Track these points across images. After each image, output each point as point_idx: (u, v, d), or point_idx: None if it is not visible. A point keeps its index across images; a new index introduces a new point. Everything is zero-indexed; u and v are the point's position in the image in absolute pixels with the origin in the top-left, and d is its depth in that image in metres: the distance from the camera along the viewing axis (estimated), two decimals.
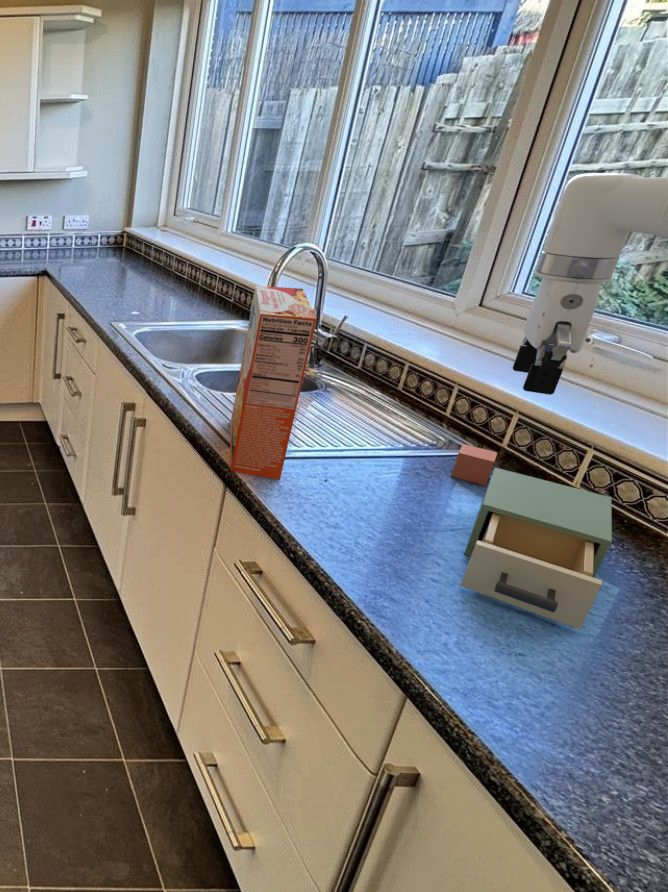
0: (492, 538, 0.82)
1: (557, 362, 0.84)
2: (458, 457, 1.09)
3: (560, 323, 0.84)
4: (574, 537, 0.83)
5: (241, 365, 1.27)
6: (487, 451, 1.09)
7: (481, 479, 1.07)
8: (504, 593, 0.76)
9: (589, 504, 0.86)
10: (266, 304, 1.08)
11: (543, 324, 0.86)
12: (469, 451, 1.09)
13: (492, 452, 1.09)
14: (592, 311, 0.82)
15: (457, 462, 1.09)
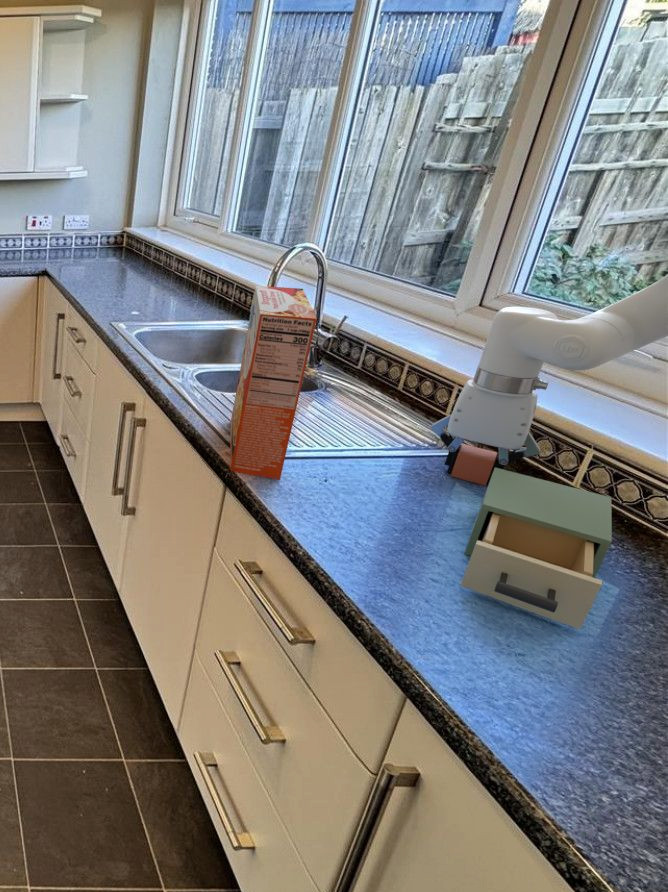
0: (492, 538, 0.82)
1: None
2: (458, 457, 1.09)
3: None
4: (574, 537, 0.83)
5: (241, 365, 1.27)
6: (487, 451, 1.09)
7: (481, 479, 1.07)
8: (504, 593, 0.76)
9: (589, 504, 0.86)
10: (266, 304, 1.08)
11: (525, 432, 1.02)
12: (469, 451, 1.09)
13: (492, 452, 1.09)
14: None
15: (457, 462, 1.09)
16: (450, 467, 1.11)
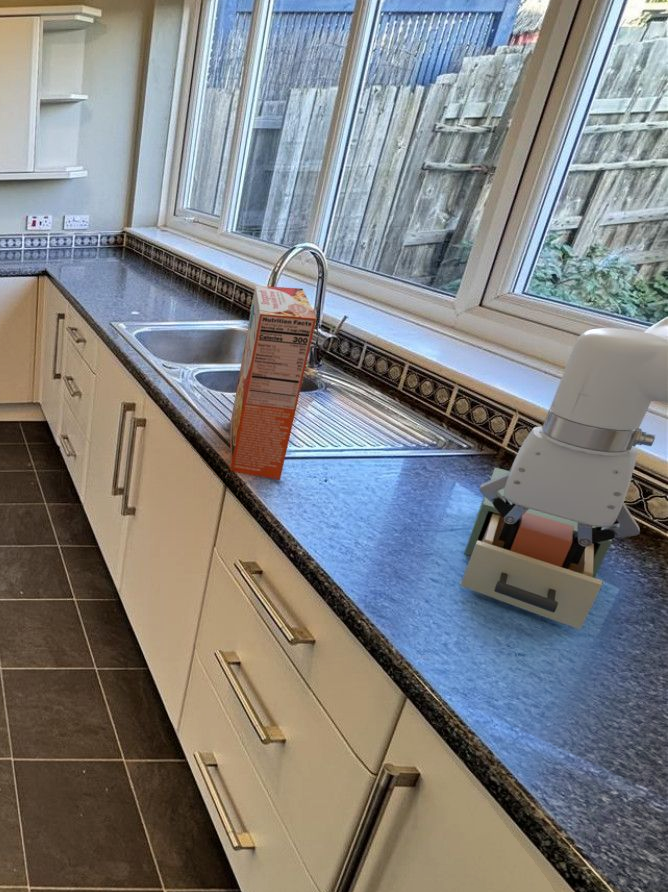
0: (492, 538, 0.81)
1: None
2: (519, 533, 0.80)
3: None
4: None
5: (241, 365, 1.27)
6: (558, 524, 0.80)
7: None
8: (504, 593, 0.76)
9: None
10: (266, 304, 1.08)
11: (620, 504, 0.73)
12: (534, 524, 0.80)
13: (566, 526, 0.79)
14: None
15: (518, 539, 0.80)
16: (507, 544, 0.81)
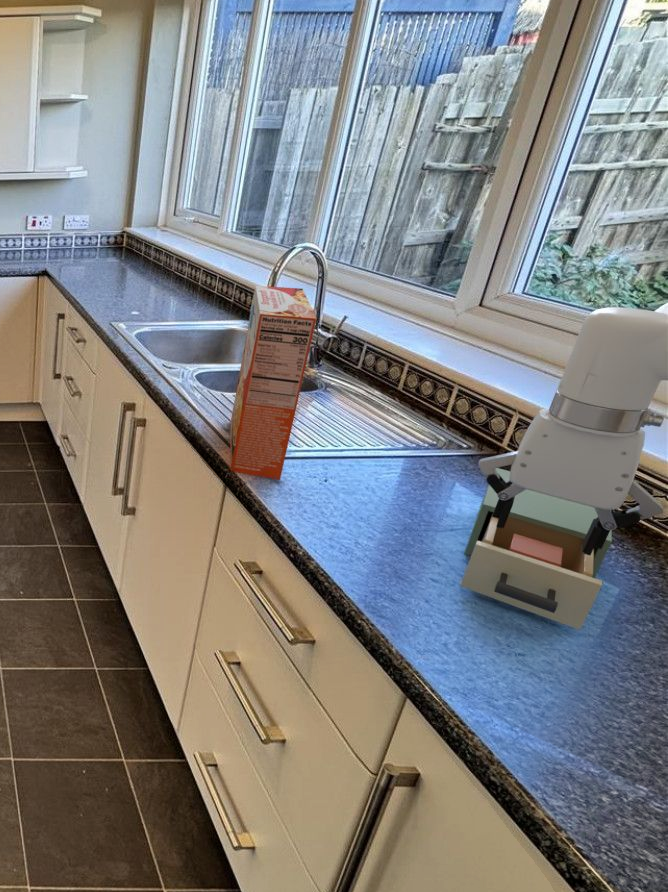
0: (492, 538, 0.81)
1: None
2: None
3: (632, 481, 0.72)
4: (574, 537, 0.83)
5: (241, 365, 1.27)
6: (548, 546, 0.81)
7: None
8: (504, 593, 0.76)
9: None
10: (266, 304, 1.08)
11: (628, 486, 0.72)
12: (524, 546, 0.81)
13: (556, 548, 0.80)
14: None
15: None
16: (501, 521, 0.81)
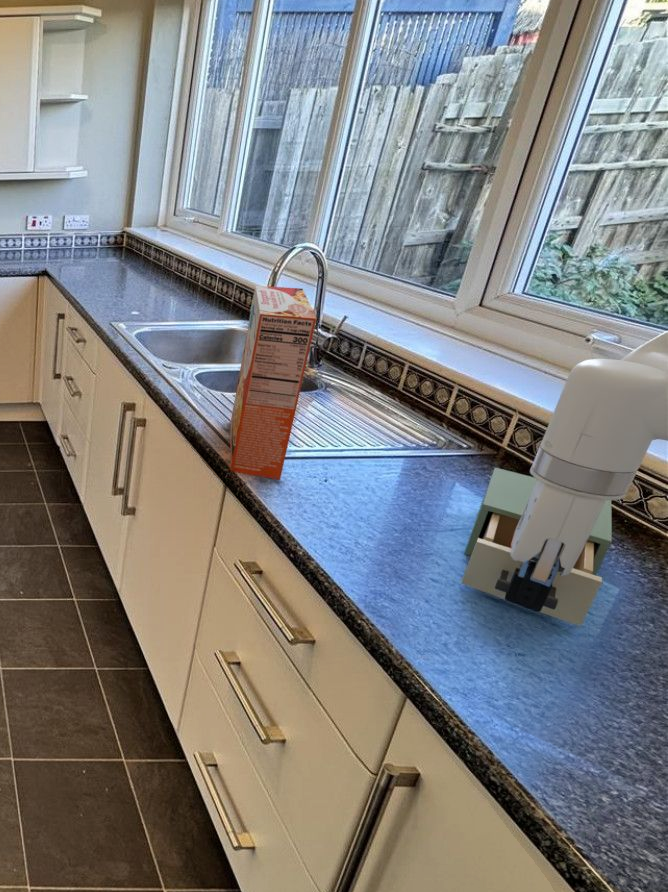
0: (493, 536, 0.82)
1: None
2: None
3: None
4: None
5: (241, 365, 1.27)
6: None
7: None
8: (505, 590, 0.77)
9: None
10: (266, 304, 1.08)
11: None
12: None
13: None
14: None
15: None
16: (543, 604, 0.73)
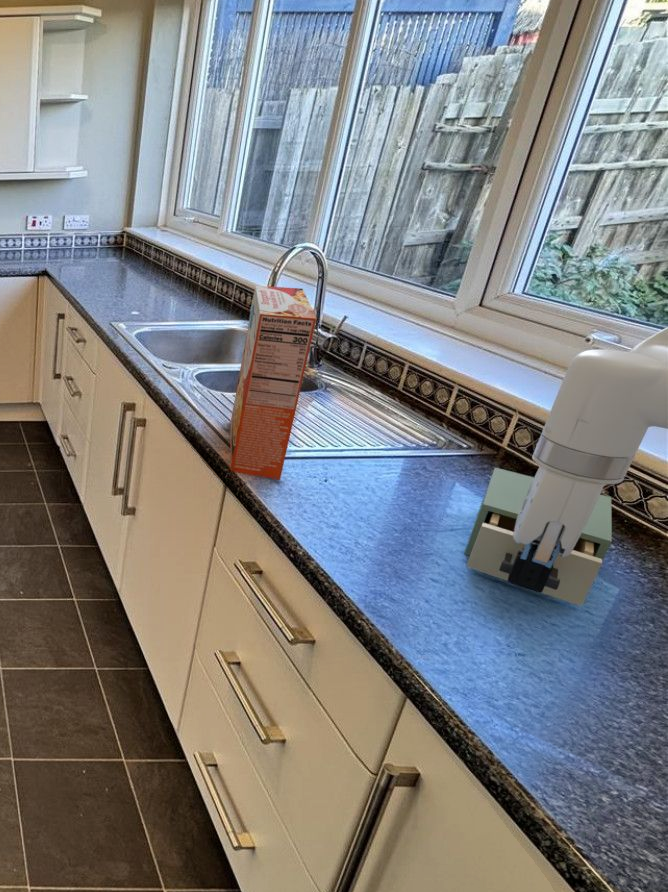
0: (497, 521, 0.85)
1: None
2: None
3: None
4: None
5: (241, 365, 1.27)
6: None
7: None
8: None
9: None
10: (266, 304, 1.08)
11: None
12: None
13: None
14: None
15: None
16: (544, 585, 0.76)
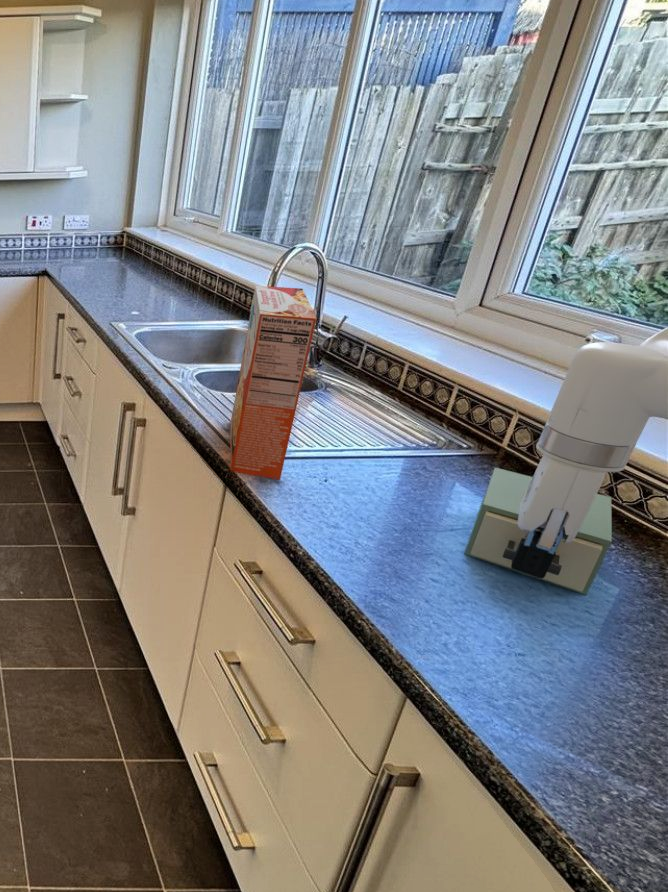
0: None
1: None
2: None
3: None
4: None
5: (241, 365, 1.27)
6: None
7: None
8: (512, 558, 0.82)
9: None
10: (266, 304, 1.08)
11: None
12: None
13: None
14: None
15: None
16: (546, 571, 0.78)
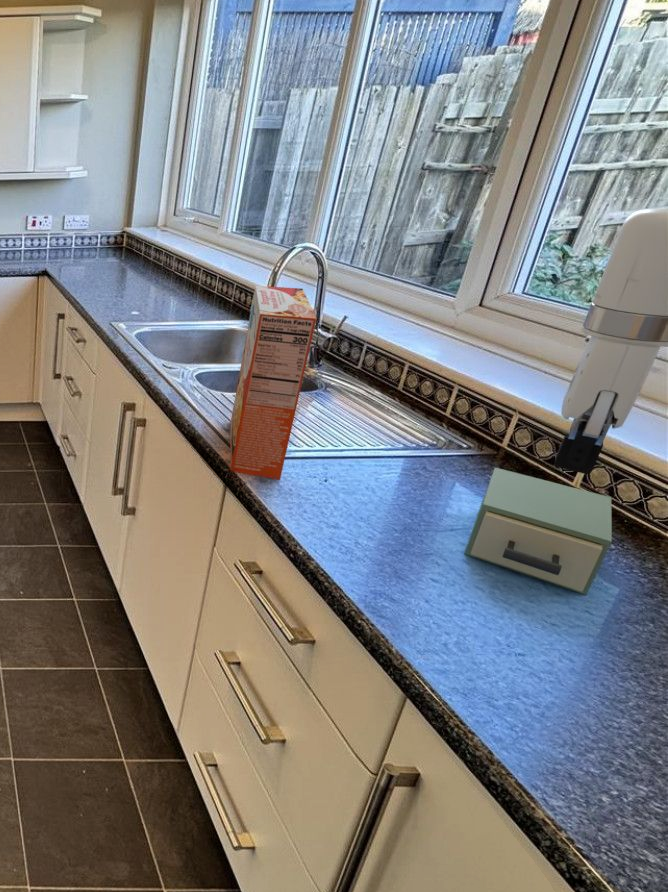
0: None
1: None
2: None
3: None
4: None
5: (241, 365, 1.27)
6: None
7: None
8: (512, 558, 0.82)
9: (589, 504, 0.86)
10: (266, 304, 1.08)
11: None
12: None
13: None
14: None
15: None
16: (593, 466, 0.74)
